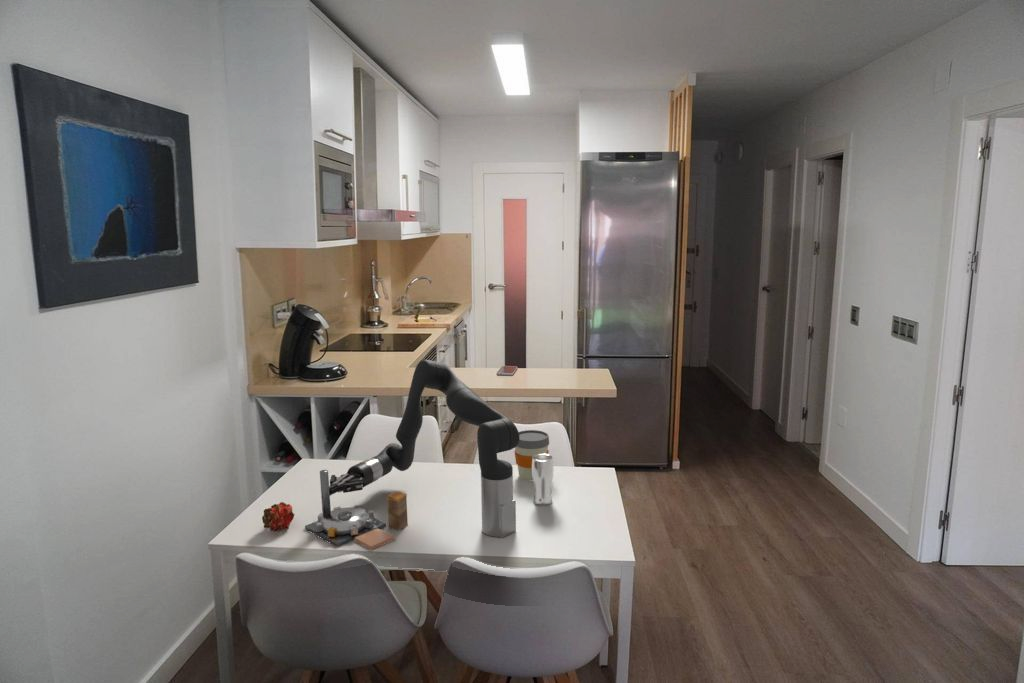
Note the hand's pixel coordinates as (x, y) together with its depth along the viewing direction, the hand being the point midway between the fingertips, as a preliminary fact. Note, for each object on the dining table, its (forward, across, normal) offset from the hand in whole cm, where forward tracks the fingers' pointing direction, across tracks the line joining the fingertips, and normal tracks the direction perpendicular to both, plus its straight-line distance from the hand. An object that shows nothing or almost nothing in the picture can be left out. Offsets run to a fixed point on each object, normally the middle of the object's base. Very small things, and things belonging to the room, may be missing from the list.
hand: (326, 492), depth 204 cm
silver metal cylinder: (-44, +50, +10) cm, 68 cm away
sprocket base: (0, +6, +10) cm, 12 cm away
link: (-8, +20, +10) cm, 24 cm away
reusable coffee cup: (-62, +37, +10) cm, 73 cm away
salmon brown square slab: (+2, +19, +10) cm, 22 cm away
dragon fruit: (+9, -11, +10) cm, 17 cm away
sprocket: (0, +7, +9) cm, 11 cm away
